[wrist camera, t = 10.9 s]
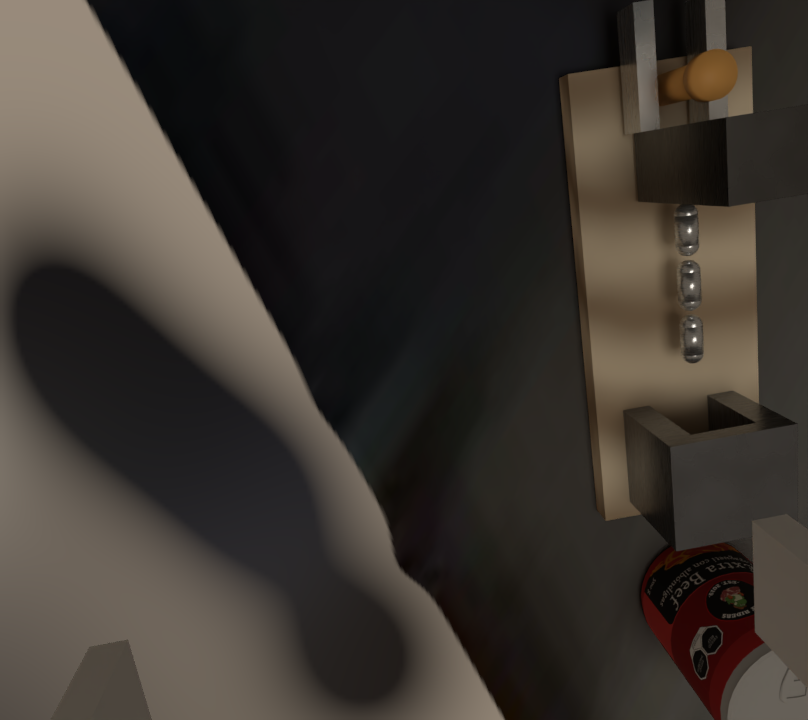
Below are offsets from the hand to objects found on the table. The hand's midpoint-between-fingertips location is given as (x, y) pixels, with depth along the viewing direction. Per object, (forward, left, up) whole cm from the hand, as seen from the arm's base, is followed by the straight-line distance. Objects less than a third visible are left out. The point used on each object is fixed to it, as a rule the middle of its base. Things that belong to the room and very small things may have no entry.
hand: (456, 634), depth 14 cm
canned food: (+20, +18, -27) cm, 38 cm away
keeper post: (-11, +17, -25) cm, 32 cm away
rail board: (0, +17, -27) cm, 32 cm away
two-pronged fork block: (-6, +17, -25) cm, 31 cm away
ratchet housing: (+9, +17, -25) cm, 32 cm away
